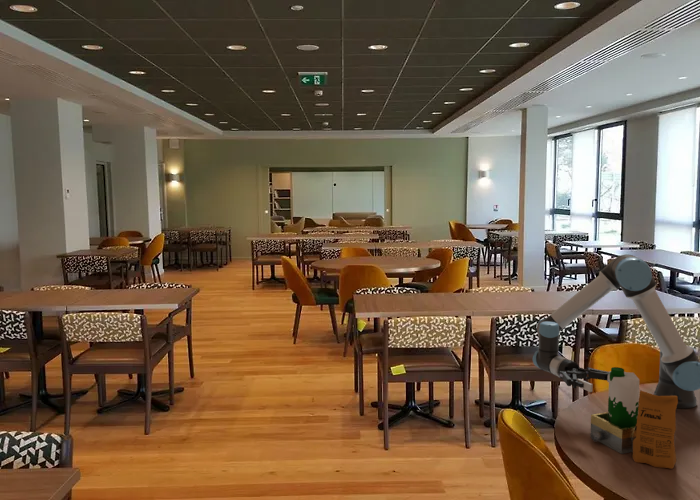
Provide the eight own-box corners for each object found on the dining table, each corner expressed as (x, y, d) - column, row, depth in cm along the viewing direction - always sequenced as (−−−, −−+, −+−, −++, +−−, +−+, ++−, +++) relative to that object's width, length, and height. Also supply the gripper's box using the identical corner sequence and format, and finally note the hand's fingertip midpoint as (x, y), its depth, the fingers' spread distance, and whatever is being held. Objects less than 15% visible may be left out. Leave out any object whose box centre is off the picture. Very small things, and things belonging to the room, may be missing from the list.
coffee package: (634, 450, 195) (637, 385, 193) (677, 459, 188) (680, 392, 186) (629, 462, 187) (631, 394, 185) (674, 472, 180) (677, 401, 178)
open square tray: (622, 431, 211) (623, 409, 210) (654, 447, 197) (655, 423, 197) (583, 438, 205) (584, 415, 204) (614, 455, 192) (614, 431, 191)
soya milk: (605, 420, 206) (607, 364, 204) (633, 422, 205) (635, 366, 203) (610, 431, 198) (613, 372, 196) (640, 433, 196) (642, 373, 194)
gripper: (590, 374, 232) (634, 391, 212) (537, 382, 223) (578, 401, 203) (591, 355, 231) (635, 371, 211) (538, 362, 222) (578, 379, 202)
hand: (607, 385), depth 207 cm, fingers open, 13 cm apart
